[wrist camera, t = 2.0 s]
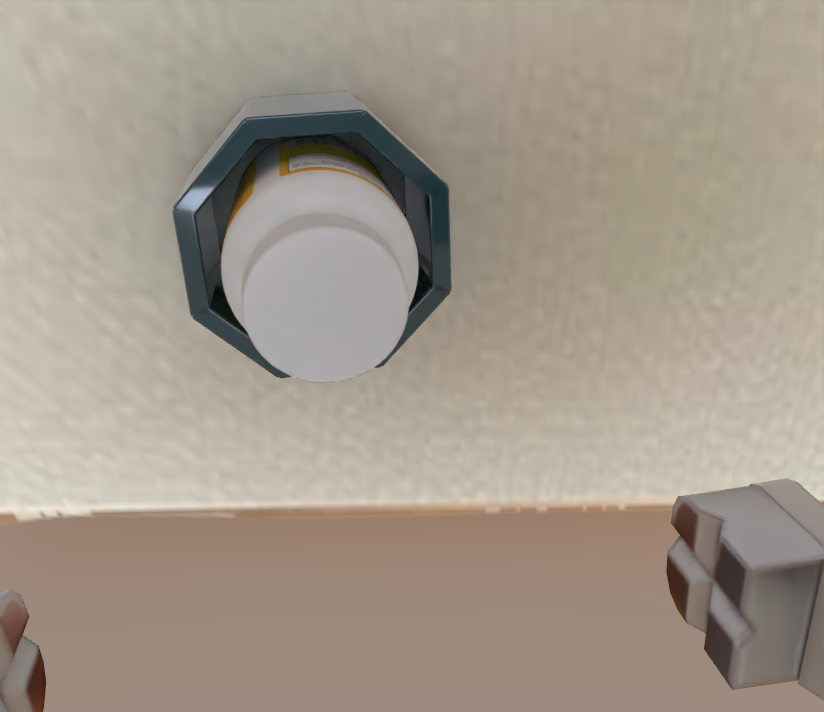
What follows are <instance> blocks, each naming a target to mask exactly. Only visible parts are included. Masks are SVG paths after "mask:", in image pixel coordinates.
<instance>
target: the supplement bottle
mask: <svg viewBox="0 0 824 712" xmlns="http://www.w3.org/2000/svg"><path fill="white" fill-rule="evenodd" d="M221 275H222V283H223V287H224V292H225V295H226V298H227V301H228V303H229V305H230V308H231V310H232V312H233V313H234V315H235V317H236V318H237V320H238V321H239V322H240V324H241V325H242V326H243V327H244V329H245V330H246V331H247V333H248V335H249V337H250V339H251V341H252V343H253V344H254V346H255V348H256V349H257V350H258V352H259V353H260V354H261V355H262V356H263V357H264V358H265V359H266V360H267V361H268V362H269V363H270V364H271V365H272V366H274V367H275V368H277V369H279V370H280V371H282V372H284V373H286V374H288V375H290V376H292V377H294V378H297V379H300V380H304V381H309V382H316V383H334V382H341V381H345V380H349V379H352V378H355V377H358V376H360V375H362V374H364V373H366V372H368V371H370V370H371V369H373V368H374V367H376V366H377V365H378V364H380V363H381V362H382V361H383V360H384V359H385V358H386V357H387V356H388V355H389V354H390V353H391V351H392V350H393V349H394V348H395V346H396V345H397V343H398V341H399V339H400V338H401V336H402V333H403V331H404V328H405V325H406V322H407V317H408V311H409V306H410V304H411V302H412V299H413V297H414V294H415V290H416V285H417V280H418V253H417V248H416V243H415V240H414V236H413V233H412V231H411V228H410V226H409V224H408V222H407V220H406V218H405V216H404V214H403V213H402V211H401V209H400V208H399V206H398V204H397V203H396V201H395V199H394V197H393V195H392V194H391V192H390V190H389V189H388V187H387V185H386V183H385V182H384V180H383V178H382V176H381V175H380V173H379V171H378V170H377V169H376V167H375V166H374V165H373V163H372V162H371V161H370V160H369V159H368V158H367V157H366V156H365V155H364V154H363V153H362V152H360V151H359V150H358V149H356V148H355V147H353V146H352V145H350V144H348V143H346V142H344V141H342V140H339V139H336V138H333V137H330V136H325V135H310V136H297V137H288V138H285V139H282V140H280V141H278V142H276V143H274V144H272V145H270V146H269V147H267V148H266V149H264V150H263V151H262V152H261V153H260V154H259V155H258V156H257V157H256V158H255V159H254V160H253V161H252V162H251V163H250V165H249V166H248V167H247V169H246V170H245V172H244V174H243V176H242V178H241V180H240V182H239V186H238V188H237V192H236V195H235V199H234V204H233V208H232V212H231V216H230V220H229V224H228V227H227V231H226V235H225V239H224V244H223V249H222V256H221Z"/></svg>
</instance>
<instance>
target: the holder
mask: <svg viewBox="0 0 824 712" xmlns="http://www.w3.org/2000/svg"><path fill="white" fill-rule="evenodd" d="M352 132H357V133H359V134H360V135H361V136H362V137H363V138H364V139H365V140H366V141H368V142H369V143H370V144H371V145H372V146H373V147H374V148H375V149H376V150H378V151H379V152H380V153H381V154H382V155H383V156H384V157H385V158H387V159H388V160H389V161H390V162H391V163H392V164H393V165H394V166H396V167H397V168H398V169H399V170H400V171H401V172H402V173H403V174H404V182H405V202H406V220H407V222H408V224H409V226H410V228H411V231H412V233H413V236H414V240H415V243H416V248H417V253H418V280H417V285H416V290H415V294H414V297H413V299H412V302H411V304H410V306H409V311H408V317H407V322H406V325H405V328H404V331H403V333H402V336H401V338H400V339H399V341H398V343H397V345H396V346H395V348H394V349H393V350H392V351H391V353H390V354H389V355H388V356H387V357H386V358H385V359H384V360H383V361H382V362H381V363H380V364H378V365H377V366H376V367H374V368H377V367H381V366H383V365H384V364H385V363H386V362H387V361H388V360H389V359H390V358H391V357H392V356H393V355H394V353H395V352H396V351H397V350H398V349H399V348H400V347H401V346H402V345H403V344H404V343H405V342H406V340H407V339H408V338H409V337H410V336H411V335H412V334H413V333H414V332H415V331H416V330H417V328H418V327H419V326H420V325H421V324H422V323H423V322H424V321H425V320H426V319H427V318H428V316H429V315H430V314H431V313H432V312H433V311H434V310H435V309H436V308H437V307H438V306H439V305H440V303H441V302H442V301H443V300H444V299H445V298H446V297H447V296H448V295H449V294H450V291H451V290H452V285H451V247H450V210H449V187H448V185H447V184H446V183H445V182H444V180H443V179H442V178H441V177H440V176H439V175H438V174H437V173H436V172H435V171H434V170H433V169H432V168H431V167H430V166H429V165H428V164H427V163H426V162H425V161H424V160H423V159H422V157H421V156H420V155H419V154H417V153H416V152H415V151H414V150H413V149H412V148H411V147H410V146H409V145H408V144H407V143H405V142H404V141H403V140H402V139H401V138H400V137H399V136H398V135H397V134H396V133H395V132H393V131H392V130H391V129H390V128H389V127H388V126H387V125H386V124H385V123H384V122H382V121H381V120H380V119H379V118H378V117H377V116H376V115H375V114H374V113H373V112H372V111H370V110H369V109H368V108H367V107H366V106H365V105H364V104H363V103H362V102H361V101H360V100H358V99H357V98H356V97H355V96H354V95H353V94H352V93H351V92H348V91H342V92H327V93H312V94H296V95H281V96H266V97H252V98H251V99H248V100H247V102H246V103H245V104H244V105H243V107H242V108H241V109H240V110H239V112H238V113H237V114H236V115H235V117H234V118H233V119H232V120H231V122H230V123H229V124H228V126H227V127H226V128H225V129H224V131H223V132H222V133H221V134H220V136H219V137H218V138H217V139H216V141H215V142H214V143H213V144H212V146H211V147H210V148H209V150H208V151H207V152H206V153H205V155H204V156H203V157H202V158H201V160H200V161H199V162H198V163H197V165H196V166H195V167H194V168H193V170H192V171H191V172H190V174H189V176H188V178H187V180H186V182H185V184H184V186H183V188H182V190H181V192H180V194H179V196H178V198H177V200H176V202H175V204H174V207H173V211H172V212H173V218H174V224H175V229H176V235H177V241H178V246H179V252H180V258H181V263H182V269H183V275H184V280H185V286H186V292H187V298H188V303H189V309H190V314H191V316H193V319H194V320H196V321H197V322H199V323H200V324H202V325H203V326H204V327H206V328H207V329H209V330H210V331H212V332H213V333H214V334H216V335H217V336H219V337H220V338H222V339H223V340H224V341H226V342H227V343H229V344H230V345H232V346H233V347H234V348H236V349H237V350H239V351H240V352H242V353H243V354H244V355H246V356H247V357H249V358H250V359H252V360H253V361H255V362H256V363H257V364H259V365H260V366H262V367H263V368H265V369H266V370H267V371H269V372H270V373H272V374H273V375H275V376H276V377H280V378H286V377H292V376H290V375H288V374H286V373H284V372H282V371H280V370H279V369H277V368H275V367H274V366H272V365H271V364H270V363H269V362H268V361H267V360H266V359H265V358H264V357H263V356H262V355H261V354H260V353H259V352H258V350H257V349H256V348H255V346H254V344H253V343H252V341H251V339H250V337H249V335H248V333H247V331H246V330H245V329H244V327H243V326H242V325H241V324H240V322H239V321H238V320H237V318H236V317H235V315H234V313H233V312H232V310H231V308H230V305H229V303H228V301H227V298H226V295H225V292H224V287H223V283H222V275H221V257H220V251H219V244H218V238H217V231H216V225H215V218H214V212H213V205H212V199H211V195H212V194H213V193H214V192H215V190H216V189H217V188H218V187H219V185H220V184H221V183H222V182H223V181H224V179H225V178H226V177H227V176H228V174H229V173H230V172H231V171H232V169H233V168H234V167H235V166H236V164H237V163H238V162H239V161H240V159H241V158H242V157H243V156H244V154H245V153H246V152H247V151H248V149H249V148H250V147H251V146H252V144H253V143H254V142H255V141H256V140H257V139H269V138H283V137H297V136H310V135H324V134H338V133H352Z"/></svg>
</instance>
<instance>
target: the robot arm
mask: <svg viewBox="0 0 824 712" xmlns="http://www.w3.org/2000/svg"><path fill="white" fill-rule="evenodd" d="M671 524H672V525H673V526H674V527H675V529H676V530H677V531H678V533H679V534H680V537H679V538H678V539H677V540H676V542H675V543H674V544H673V546H671V548H670V549H669V550H668V558H667V577H668V582H669V588H670V593H671V595H672V598H673V600H674V602H675V605H676V607H677V609H678V611H679V612H680V614H681V615H682V617H683V618H684V620H685V621H686V623H688V624H690V625H691V626H693V627H695V628H697V629H699V630H701V631H702V632H704V633H706V638H705V646H704V649H705V651H706V652H707V654H708V655H709V657H710V658H711V660H712V661H713V662H714V664H715V665H716V666H717V668H718V670H719V671H720V673H721V674H722V676H723V677H724V678H725V680H726V681H727V683H728V684H729V686H730V687H731V689H732V690H735V689H741V688H748V687H755V686H762V685H769V684H775V683H782V682H789V681H796V680H799V682H798V683H799V684H800V685H801V686H803V687H804V688H806V689H807V690H809V691H810V692H812V693H813V694H815V695H816V696H818V697H819V698H821V699H822V700H824V506H823V505H822V504H821V503H820V502H819V501H818V500H817V499H816V498H814V497H813V496H812V495H811V494H810V493H809V492H808V491H807V490H805V489H804V488H803V487H802V486H801V485H800V484H799V483H798V482H795V481H792V480H790V479H787V478H786V479H780V480H774V481H768V482H762V483H756V484H751V485H750V486H746V487H739V488H732V489H725V490H719V491H712V492H705V493H698V494H691V495H684V496H678V498H677V500H676V502H675V504H674V506H673V511H672V519H671ZM28 619H29V615H28V612H27V609H26V607H25V604H24V601H23V599H22V596H21V594H19V593H17V592H15V591H13V590H9V591H0V712H43V709H44V700H45V687H46V678H45V670H44V662H43V659H42V656H41V652H40V649H39V646H38V645H36V644H35V643H34V642H32V641H31V640H29V639H28V638H26V637H25V636H23V635H22V634H23V632H24V629H25V626H26V624H27V621H28Z"/></svg>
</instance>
